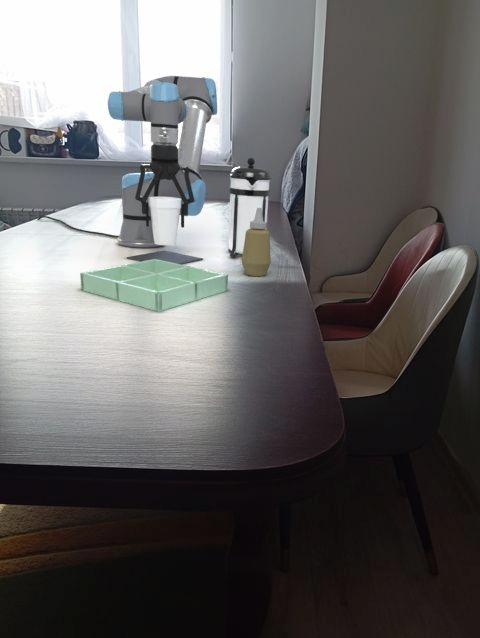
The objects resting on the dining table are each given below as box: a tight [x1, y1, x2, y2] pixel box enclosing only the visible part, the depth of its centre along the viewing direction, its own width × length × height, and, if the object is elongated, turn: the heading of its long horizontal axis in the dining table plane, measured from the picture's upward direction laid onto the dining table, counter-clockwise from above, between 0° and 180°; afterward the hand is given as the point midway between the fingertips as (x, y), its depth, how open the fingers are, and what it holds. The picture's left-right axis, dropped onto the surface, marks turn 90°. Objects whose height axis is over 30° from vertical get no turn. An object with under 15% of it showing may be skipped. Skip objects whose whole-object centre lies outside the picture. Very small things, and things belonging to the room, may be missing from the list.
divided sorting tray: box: [79, 259, 229, 313], centre depth 121 cm, size 24×24×4 cm
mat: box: [126, 250, 204, 265], centre depth 155 cm, size 16×16×1 cm
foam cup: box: [148, 197, 181, 246], centre depth 151 cm, size 10×9×13 cm
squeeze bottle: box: [241, 208, 272, 277], centre depth 140 cm, size 8×8×18 cm
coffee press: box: [227, 157, 272, 259], centre depth 164 cm, size 17×16×30 cm
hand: (165, 226), depth 151 cm, fingers closed on foam cup, 9 cm apart
